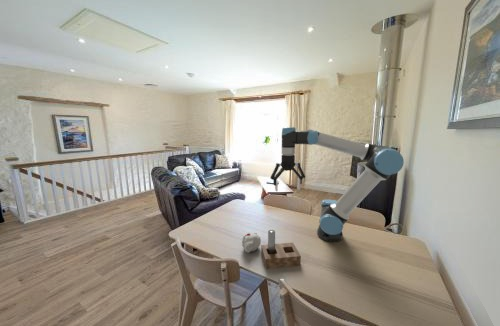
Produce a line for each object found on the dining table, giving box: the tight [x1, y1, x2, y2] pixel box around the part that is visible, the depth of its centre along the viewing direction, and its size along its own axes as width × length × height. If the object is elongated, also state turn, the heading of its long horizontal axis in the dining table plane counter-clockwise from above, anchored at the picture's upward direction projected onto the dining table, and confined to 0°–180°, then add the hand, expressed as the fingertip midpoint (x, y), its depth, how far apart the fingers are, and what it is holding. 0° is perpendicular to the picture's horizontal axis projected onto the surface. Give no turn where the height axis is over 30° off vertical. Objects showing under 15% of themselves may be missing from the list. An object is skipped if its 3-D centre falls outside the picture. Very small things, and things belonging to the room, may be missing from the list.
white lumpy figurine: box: [241, 232, 262, 254], centre depth 117 cm, size 9×11×15 cm
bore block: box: [260, 242, 302, 269], centre depth 107 cm, size 18×12×5 cm, turn 97°
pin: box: [267, 229, 276, 254], centre depth 105 cm, size 4×4×15 cm
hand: (287, 190), depth 120 cm, fingers open, 13 cm apart
